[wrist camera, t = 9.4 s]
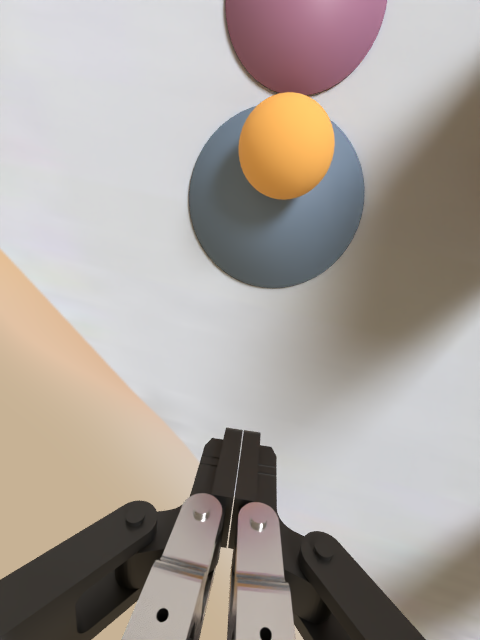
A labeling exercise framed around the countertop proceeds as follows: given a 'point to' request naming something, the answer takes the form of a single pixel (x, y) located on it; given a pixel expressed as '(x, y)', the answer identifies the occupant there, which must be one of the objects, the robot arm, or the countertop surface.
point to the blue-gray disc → (272, 214)
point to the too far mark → (303, 40)
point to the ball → (286, 145)
